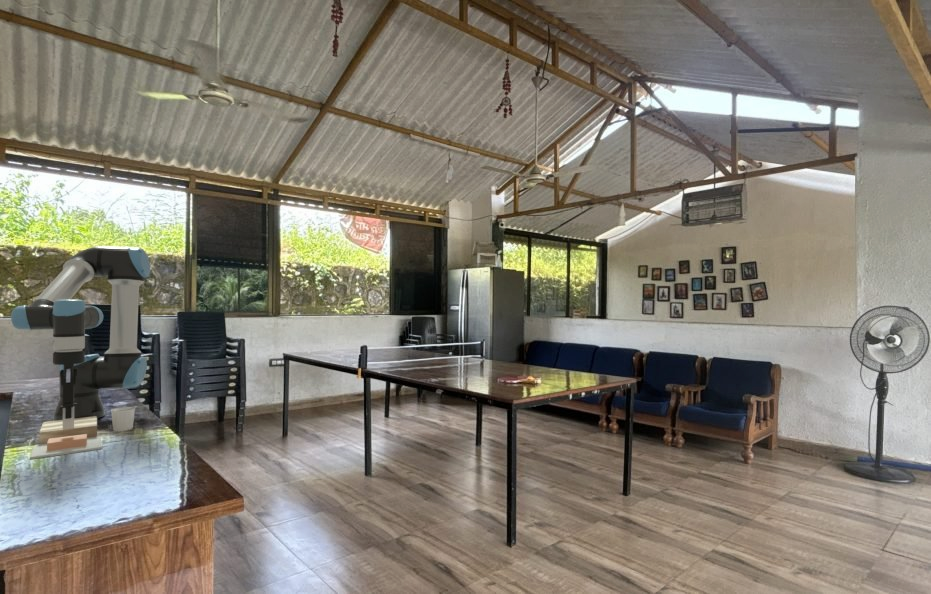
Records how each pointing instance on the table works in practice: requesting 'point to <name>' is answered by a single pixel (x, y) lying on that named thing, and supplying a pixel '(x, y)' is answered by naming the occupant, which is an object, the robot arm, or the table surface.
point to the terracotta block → (66, 442)
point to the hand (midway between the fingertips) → (68, 428)
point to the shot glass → (122, 418)
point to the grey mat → (41, 449)
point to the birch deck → (56, 429)
